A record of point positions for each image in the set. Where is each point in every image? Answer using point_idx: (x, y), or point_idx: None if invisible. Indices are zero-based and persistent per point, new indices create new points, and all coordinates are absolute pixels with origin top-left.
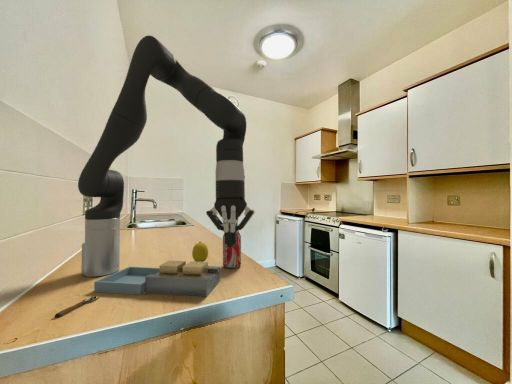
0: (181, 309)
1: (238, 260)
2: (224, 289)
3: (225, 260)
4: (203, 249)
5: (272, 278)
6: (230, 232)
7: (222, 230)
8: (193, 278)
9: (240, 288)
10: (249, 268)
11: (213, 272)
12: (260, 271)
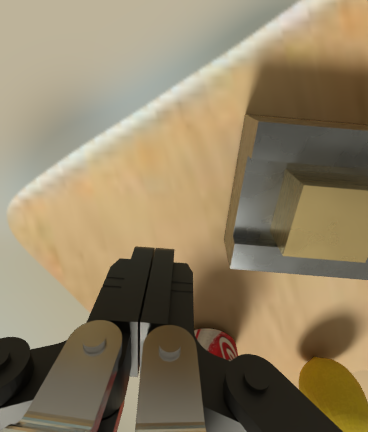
0: (317, 10)
1: None
2: (195, 177)
3: (226, 349)
4: (325, 403)
5: (57, 261)
6: (136, 339)
7: (218, 358)
8: (319, 137)
9: (143, 186)
10: None
11: (248, 238)
12: None
